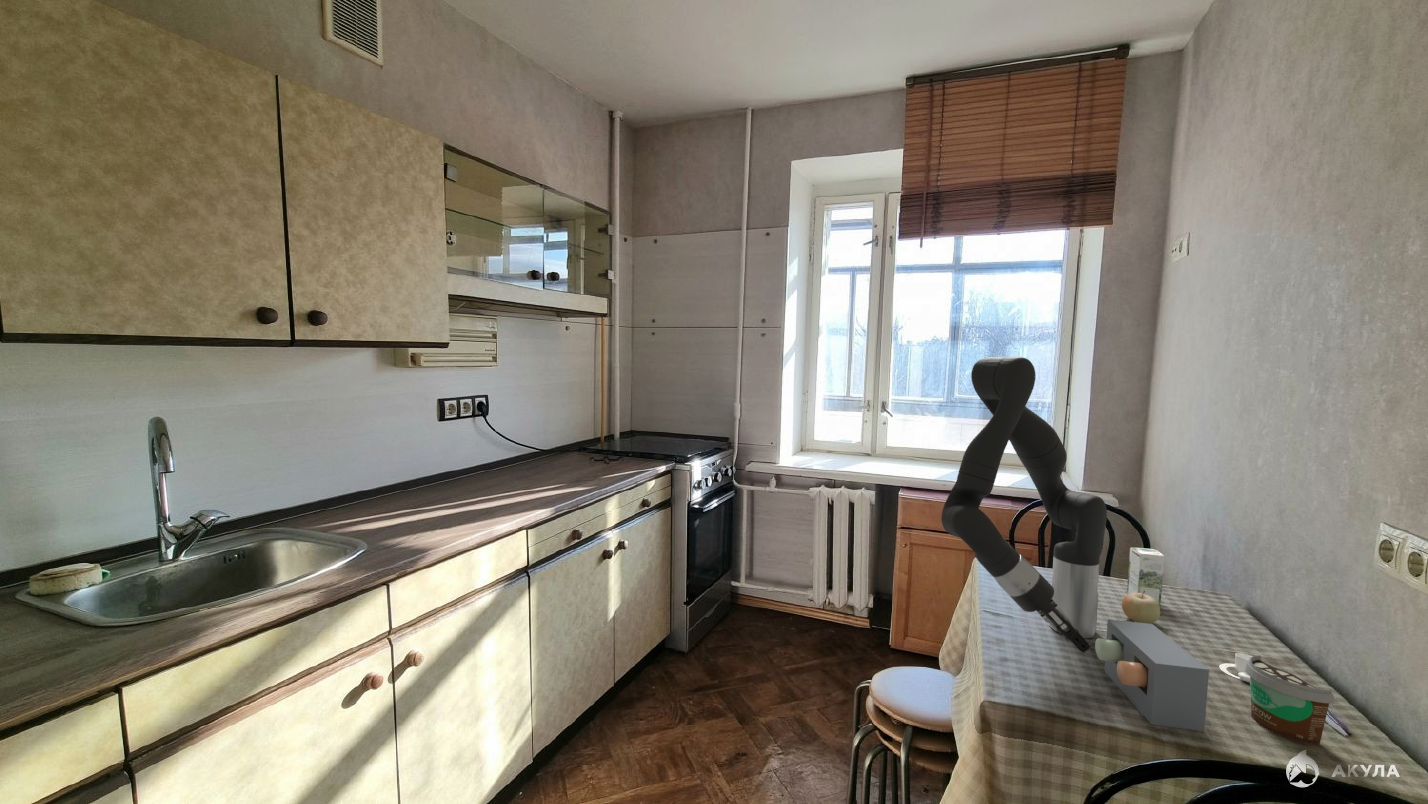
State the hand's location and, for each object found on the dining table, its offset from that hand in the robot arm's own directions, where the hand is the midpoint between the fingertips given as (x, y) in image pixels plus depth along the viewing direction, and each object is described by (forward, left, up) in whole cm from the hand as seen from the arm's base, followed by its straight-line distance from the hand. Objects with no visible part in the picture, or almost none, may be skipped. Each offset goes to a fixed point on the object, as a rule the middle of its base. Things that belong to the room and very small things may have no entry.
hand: (1085, 647), depth 113 cm
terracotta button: (+2, +10, -2) cm, 10 cm away
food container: (-15, +23, -7) cm, 29 cm away
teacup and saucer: (-31, +11, -7) cm, 34 cm away
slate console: (-5, +9, -6) cm, 12 cm away
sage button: (-3, +3, -2) cm, 5 cm away
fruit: (-41, -11, -7) cm, 43 cm away
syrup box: (-55, -17, -7) cm, 58 cm away
